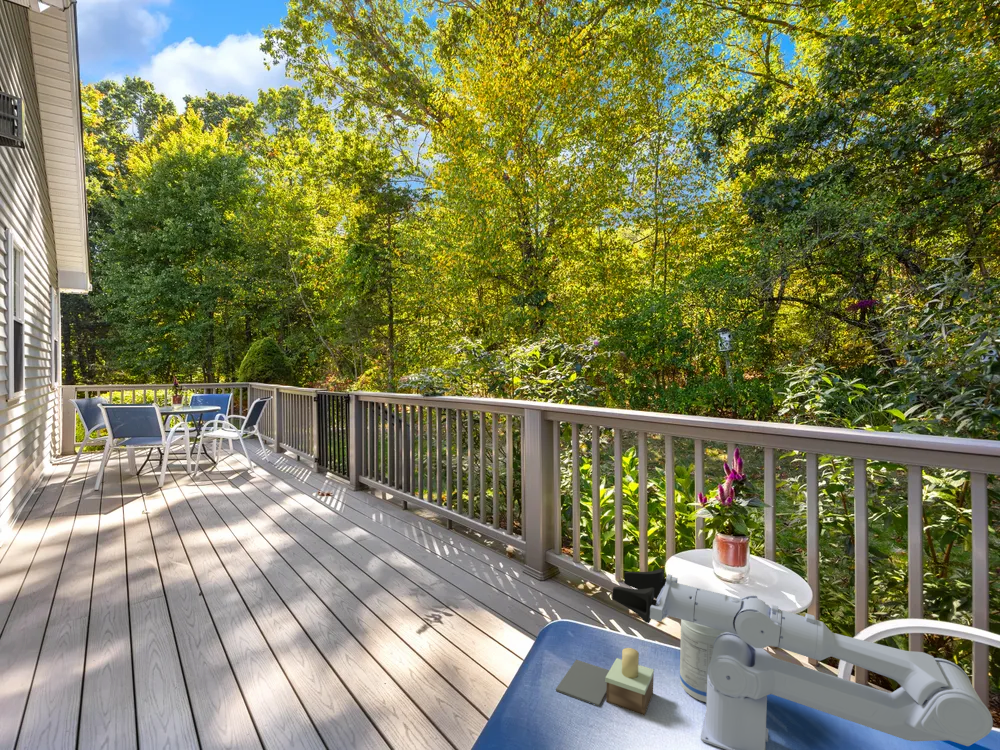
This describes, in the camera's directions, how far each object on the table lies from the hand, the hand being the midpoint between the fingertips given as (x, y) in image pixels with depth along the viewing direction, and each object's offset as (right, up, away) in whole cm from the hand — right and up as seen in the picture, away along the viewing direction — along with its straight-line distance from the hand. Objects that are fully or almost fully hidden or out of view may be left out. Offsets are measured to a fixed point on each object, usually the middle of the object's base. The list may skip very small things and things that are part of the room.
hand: (619, 585), depth 93 cm
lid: (+2, -18, 0) cm, 18 cm away
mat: (-5, -21, +4) cm, 22 cm away
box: (+2, -21, 0) cm, 22 cm away
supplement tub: (+17, -22, +3) cm, 28 cm away
